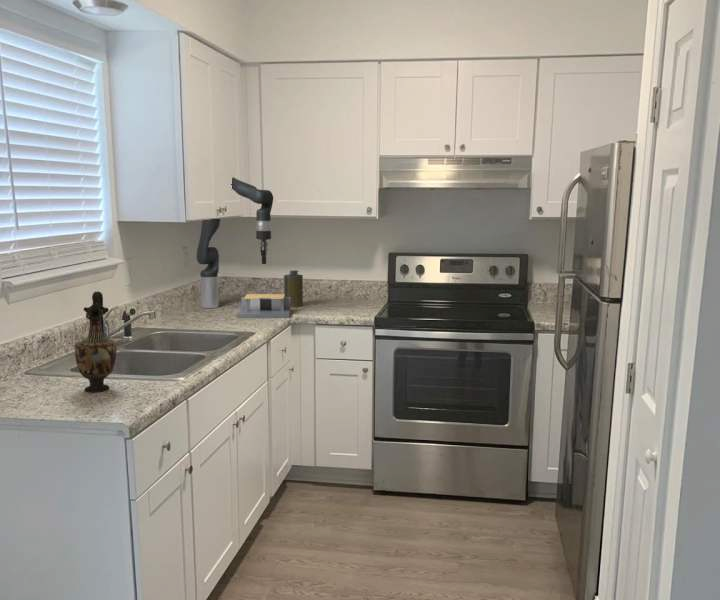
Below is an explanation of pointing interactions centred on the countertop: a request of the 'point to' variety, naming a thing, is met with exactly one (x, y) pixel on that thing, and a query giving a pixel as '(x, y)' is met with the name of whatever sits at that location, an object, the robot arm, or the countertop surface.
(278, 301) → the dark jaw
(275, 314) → the housing base
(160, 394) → the countertop surface
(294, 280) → the canister
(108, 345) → the vase
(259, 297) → the lid
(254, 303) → the silver jaw
